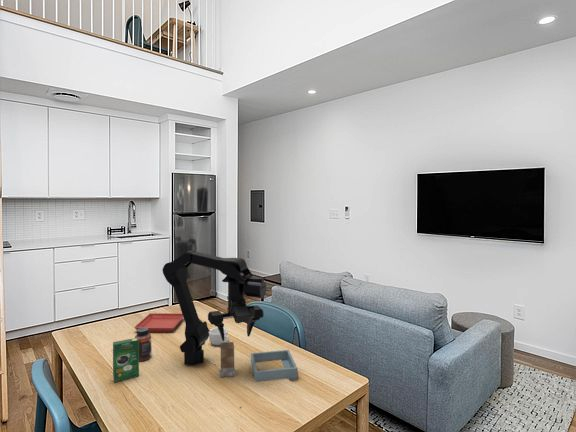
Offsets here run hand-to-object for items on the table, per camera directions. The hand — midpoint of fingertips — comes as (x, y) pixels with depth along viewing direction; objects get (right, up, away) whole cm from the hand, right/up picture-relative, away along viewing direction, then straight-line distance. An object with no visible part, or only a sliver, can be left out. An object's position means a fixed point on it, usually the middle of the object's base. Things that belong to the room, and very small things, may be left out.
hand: (235, 338), depth 127 cm
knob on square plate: (-3, -12, -2) cm, 13 cm away
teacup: (-10, -11, +24) cm, 28 cm away
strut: (-3, -11, -2) cm, 12 cm away
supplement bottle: (-37, -12, +11) cm, 40 cm away
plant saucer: (-42, -10, +44) cm, 61 cm away
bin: (+13, -12, +1) cm, 18 cm away
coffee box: (-37, -13, -3) cm, 39 cm away
